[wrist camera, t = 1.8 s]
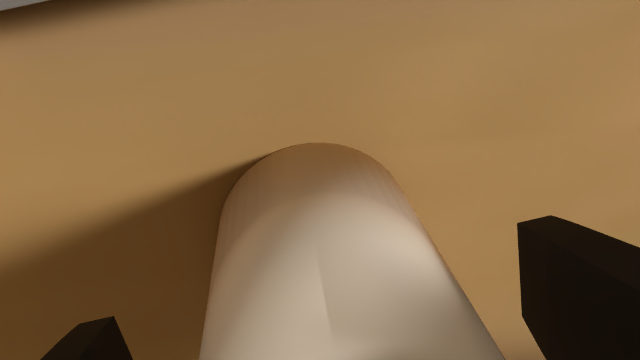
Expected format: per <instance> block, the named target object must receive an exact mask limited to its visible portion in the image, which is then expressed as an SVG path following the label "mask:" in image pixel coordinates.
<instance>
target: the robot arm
mask: <svg viewBox="0 0 640 360" xmlns="http://www.w3.org/2000/svg"><path fill="white" fill-rule="evenodd" d="M517 230H518V249H519V268H520V287H521V306H522V317H523V319H524V321H525V322H526V324H527V326H528V328H529V330H530V332H531V333H532V335H533V337H534V339H535V341H536V343H537V344H538V346H539V348H540V350H541V351H542V353H543V355H544V356H545V358H546V360H640V248H639V247H637V246H634V245H631V244H629V243H626V242H623V241H621V240H618V239H616V238H613V237H610V236H608V235H605V234H603V233H600V232H597V231H595V230H592V229H589V228H587V227H584V226H581V225H579V224H576V223H573V222H570V221H567V220H564V219H561V218H558V217H555V216H551V215H550V216H546V217H542V218H537V219H533V220H529V221H524V222H520V223H517ZM40 360H133V359H132V356H131V354H130V352H129V350H128V347H127V345H126V343H125V341H124V338H123V336H122V334H121V331H120V329H119V327H118V325H117V322H116V320H115V318H114V316H112V317H107V318H103V319H99V320H94V321H90V322H86V323H81V324H79V325H77V326H76V327H75V328H74V329H73V330H71V331H70V332H69V333H68V334H67V335H66V336H65V337H63V338H62V339H61V340H60V341H59V342H58V343H57V344H56V345H55V346H54V347H53V348H52V349H51V350H50V351H49V352H48V353H47V354H46V355H45V356H44V357H43V358H42V359H40Z"/></svg>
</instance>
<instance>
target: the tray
mask: <svg viewBox="0 0 640 360" xmlns="http://www.w3.org/2000/svg"><path fill="white" fill-rule="evenodd" d="M46 1H50V0H0V11H4V10H9V9H14V8H18V7H23V6H27V5H32V4H37V3H41V2H46Z"/></svg>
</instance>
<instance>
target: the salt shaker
mask: <svg viewBox="0 0 640 360" xmlns="http://www.w3.org/2000/svg"><path fill="white" fill-rule="evenodd" d="M199 360H505V358H504V357H503V355H502V354H501V352H500V350H499V349H498V347H497V345H496V344H495V342H494V340H493V339H492V337H491V336H490V334H489V332H488V331H487V329H486V327H485V326H484V324H483V322H482V321H481V319H480V317H479V316H478V314H477V313H476V311H475V309H474V308H473V306H472V304H471V303H470V301H469V299H468V298H467V296H466V295H465V293H464V291H463V290H462V288H461V286H460V285H459V283H458V281H457V280H456V278H455V276H454V275H453V273H452V272H451V270H450V268H449V267H448V265H447V263H446V262H445V260H444V258H443V257H442V255H441V254H440V252H439V250H438V249H437V247H436V245H435V244H434V242H433V240H432V239H431V237H430V235H429V234H428V232H427V231H426V229H425V227H424V226H423V224H422V222H421V221H420V219H419V217H418V216H417V214H416V213H415V211H414V209H413V208H412V206H411V204H410V203H409V201H408V199H407V198H406V196H405V194H404V193H403V191H402V190H401V188H400V186H399V185H398V183H397V181H396V180H395V179H394V178H393V176H392V175H391V174H390V172H389V171H388V170H387V169H385V168H384V167H383V166H382V165H381V164H380V163H379V162H377V161H376V160H374V159H373V158H372V157H370V156H368V155H366V154H364V153H362V152H361V151H358V150H355V149H353V148H350V147H347V146H342V145H338V144H330V143H307V144H301V145H295V146H291V147H288V148H285V149H282V150H279V151H277V152H275V153H272V154H270V155H268V156H267V157H265V158H263V159H262V160H260V161H258V162H257V163H256V164H255V165H253V166H252V167H251V168H249V169H248V170H247V171H246V172H245V173H244V174H243V175H242V176H241V177H240V179H239V180H238V181H237V183H236V184H235V185H234V187H233V188H232V190H231V192H230V193H229V195H228V197H227V199H226V201H225V204H224V207H223V209H222V214H221V218H220V224H219V230H218V237H217V243H216V250H215V257H214V263H213V270H212V276H211V283H210V289H209V296H208V303H207V309H206V316H205V322H204V329H203V336H202V342H201V349H200V355H199Z"/></svg>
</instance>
